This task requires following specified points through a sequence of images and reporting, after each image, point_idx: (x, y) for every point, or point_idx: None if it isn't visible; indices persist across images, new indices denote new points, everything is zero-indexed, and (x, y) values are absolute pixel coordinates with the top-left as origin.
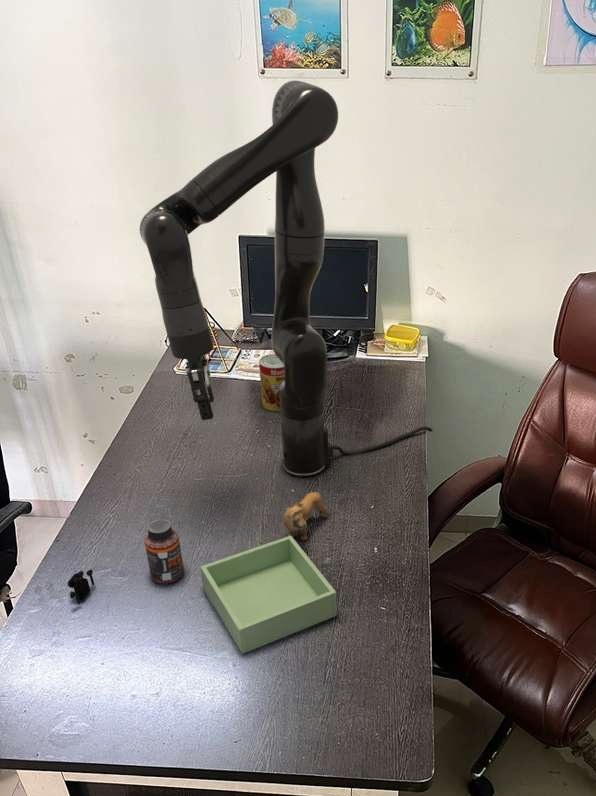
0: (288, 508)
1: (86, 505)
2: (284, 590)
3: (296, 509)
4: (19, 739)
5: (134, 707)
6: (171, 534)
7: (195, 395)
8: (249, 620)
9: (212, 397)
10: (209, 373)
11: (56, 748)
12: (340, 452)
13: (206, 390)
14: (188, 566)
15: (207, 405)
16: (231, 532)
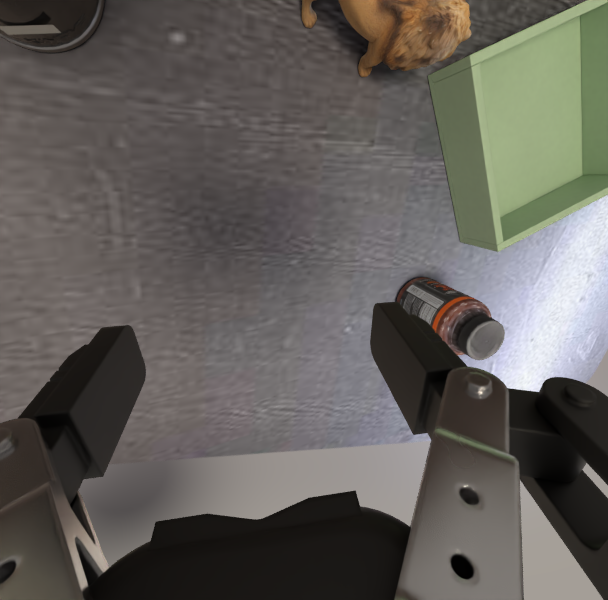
0: (446, 36)
1: (233, 452)
2: (508, 101)
3: (465, 8)
4: (580, 381)
5: (593, 295)
6: (482, 313)
7: (602, 493)
8: (545, 167)
9: (121, 340)
10: (60, 516)
11: (601, 350)
12: None
13: (599, 444)
14: (405, 271)
15: (461, 361)
16: (331, 204)
